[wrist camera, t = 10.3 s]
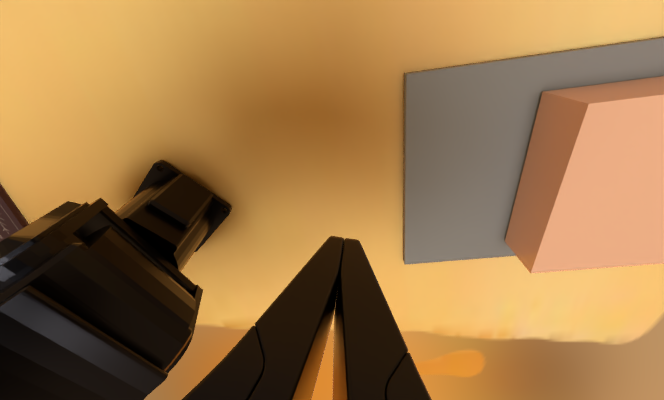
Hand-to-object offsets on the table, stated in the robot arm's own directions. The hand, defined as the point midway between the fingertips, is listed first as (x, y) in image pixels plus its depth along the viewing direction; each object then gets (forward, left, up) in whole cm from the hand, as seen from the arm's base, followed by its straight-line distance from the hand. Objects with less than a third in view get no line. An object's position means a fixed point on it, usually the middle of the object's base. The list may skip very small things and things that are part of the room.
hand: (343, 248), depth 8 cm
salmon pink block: (+10, -15, -10) cm, 21 cm away
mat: (+7, -13, -13) cm, 20 cm away
